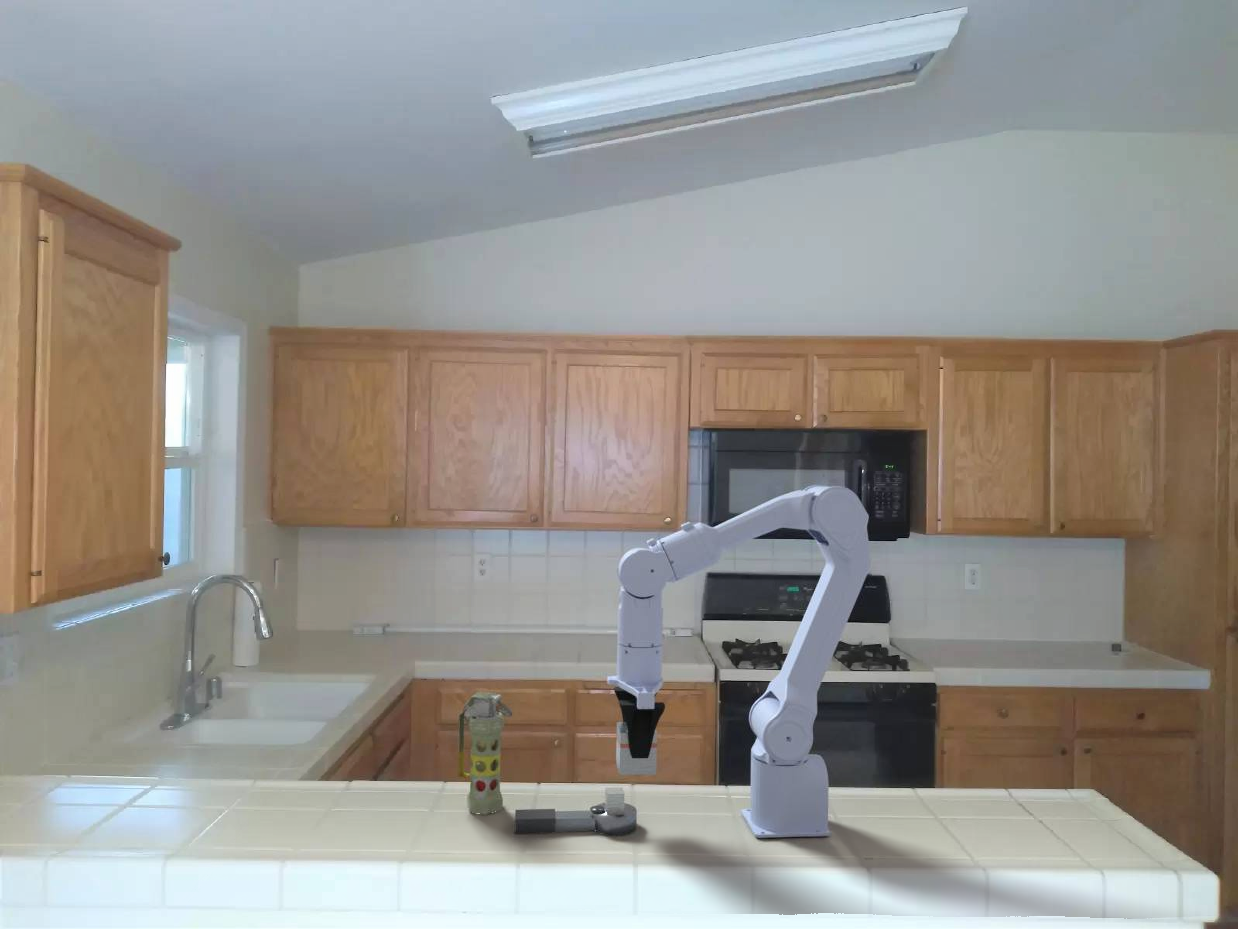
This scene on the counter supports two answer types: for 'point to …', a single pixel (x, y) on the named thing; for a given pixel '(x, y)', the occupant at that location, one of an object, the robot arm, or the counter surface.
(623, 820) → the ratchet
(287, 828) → the counter surface
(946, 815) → the counter surface
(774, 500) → the robot arm
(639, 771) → the striped cube with knob
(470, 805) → the grenade
